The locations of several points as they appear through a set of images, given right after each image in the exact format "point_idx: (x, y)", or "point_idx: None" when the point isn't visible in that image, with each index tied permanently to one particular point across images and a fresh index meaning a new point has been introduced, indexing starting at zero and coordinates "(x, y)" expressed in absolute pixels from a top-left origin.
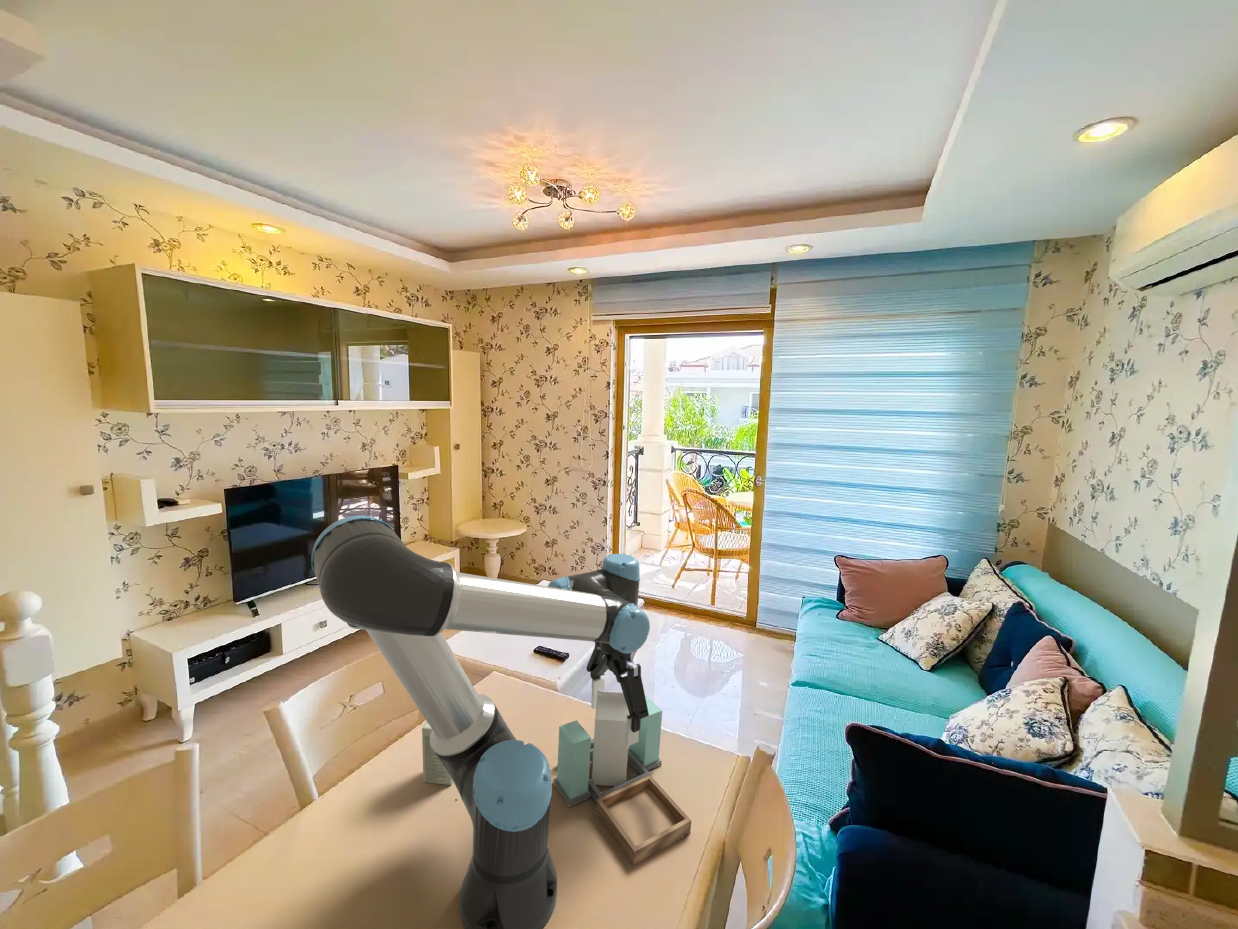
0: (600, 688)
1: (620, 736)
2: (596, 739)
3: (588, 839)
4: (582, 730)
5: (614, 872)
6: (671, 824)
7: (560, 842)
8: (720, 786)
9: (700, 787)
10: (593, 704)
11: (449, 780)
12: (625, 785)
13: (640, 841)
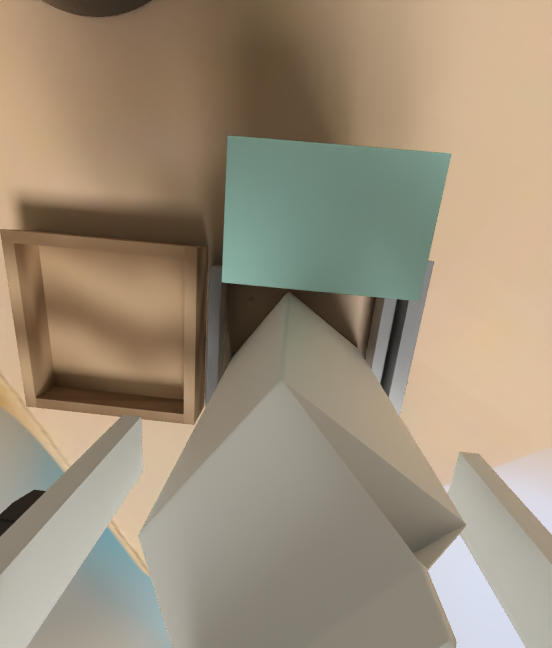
0: (530, 614)
1: (201, 432)
2: (277, 339)
3: (143, 177)
4: (309, 275)
5: (35, 178)
6: (77, 371)
7: (171, 100)
8: (124, 520)
9: (142, 489)
10: (474, 473)
11: None
12: (207, 352)
13: (66, 280)
